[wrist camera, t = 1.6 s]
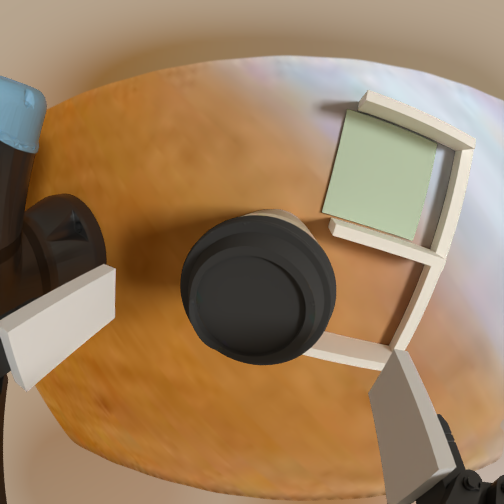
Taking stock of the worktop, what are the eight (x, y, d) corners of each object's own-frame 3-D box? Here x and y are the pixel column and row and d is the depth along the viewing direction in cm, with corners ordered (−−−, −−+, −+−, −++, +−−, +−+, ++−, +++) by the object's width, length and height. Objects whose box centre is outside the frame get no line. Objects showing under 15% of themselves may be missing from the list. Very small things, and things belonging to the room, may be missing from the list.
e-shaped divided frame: (294, 331, 30) (292, 352, 26) (359, 101, 23) (368, 90, 19) (395, 354, 29) (404, 374, 25) (466, 147, 22) (486, 145, 18)
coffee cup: (299, 183, 26) (298, 190, 12) (334, 267, 28) (362, 354, 13) (216, 220, 28) (137, 265, 14) (254, 298, 30) (214, 395, 16)
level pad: (321, 211, 26) (322, 212, 26) (347, 109, 23) (347, 109, 23) (411, 240, 26) (412, 240, 25) (436, 143, 22) (437, 143, 22)
